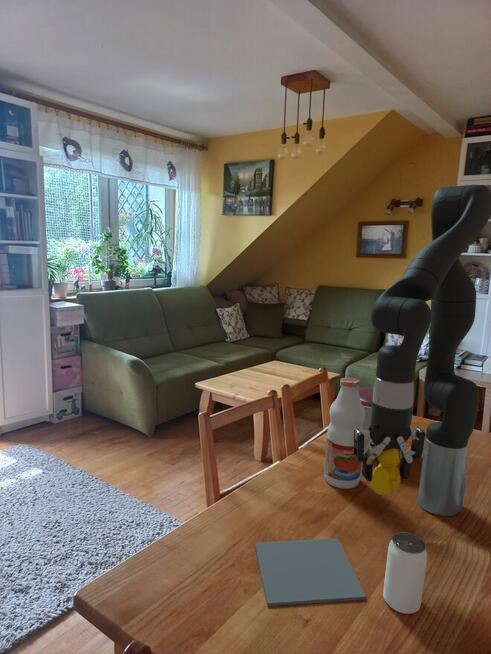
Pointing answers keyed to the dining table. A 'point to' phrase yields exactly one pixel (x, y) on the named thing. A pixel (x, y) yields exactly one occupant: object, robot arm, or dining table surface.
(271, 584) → the mat
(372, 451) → the robot arm
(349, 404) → the fruit juice
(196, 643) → the dining table surface
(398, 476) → the duckling
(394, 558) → the can
